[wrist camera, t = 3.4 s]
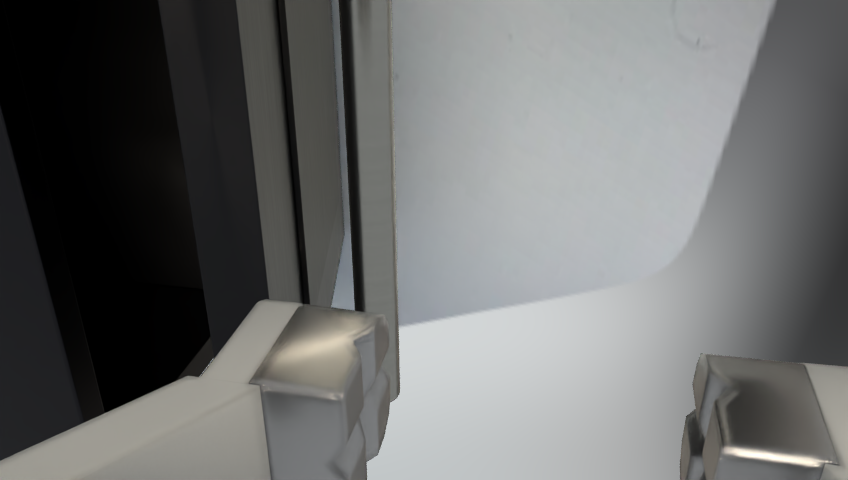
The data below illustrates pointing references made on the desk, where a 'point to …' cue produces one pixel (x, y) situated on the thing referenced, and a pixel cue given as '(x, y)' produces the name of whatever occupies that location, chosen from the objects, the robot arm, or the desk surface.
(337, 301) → the desk surface
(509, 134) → the desk surface
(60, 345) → the oven
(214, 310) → the oven door
